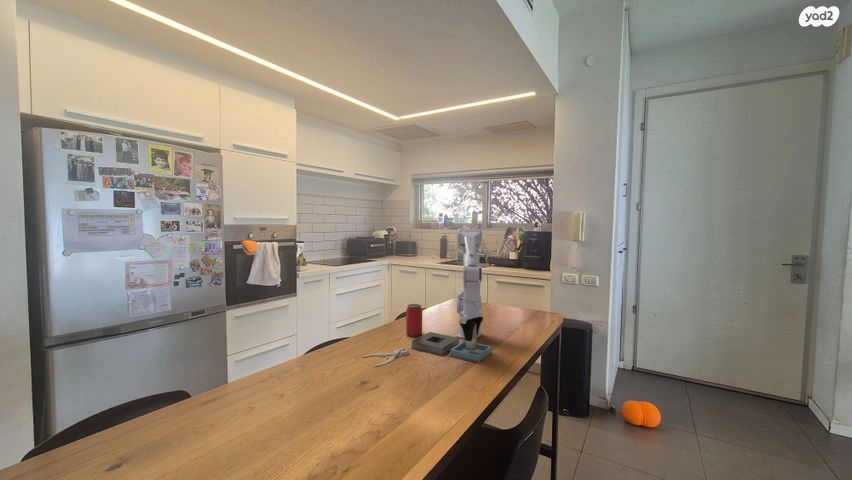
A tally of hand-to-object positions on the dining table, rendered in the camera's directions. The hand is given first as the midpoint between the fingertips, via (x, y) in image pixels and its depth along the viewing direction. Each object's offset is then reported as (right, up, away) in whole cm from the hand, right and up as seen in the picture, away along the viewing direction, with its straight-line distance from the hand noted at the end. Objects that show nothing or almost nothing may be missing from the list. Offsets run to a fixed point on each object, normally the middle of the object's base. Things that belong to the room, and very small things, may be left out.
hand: (471, 338), depth 121 cm
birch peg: (0, -4, 0) cm, 4 cm away
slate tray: (0, -6, 0) cm, 6 cm away
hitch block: (-12, -5, +8) cm, 16 cm away
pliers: (-29, -6, -2) cm, 30 cm away
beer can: (-21, -5, +22) cm, 30 cm away
